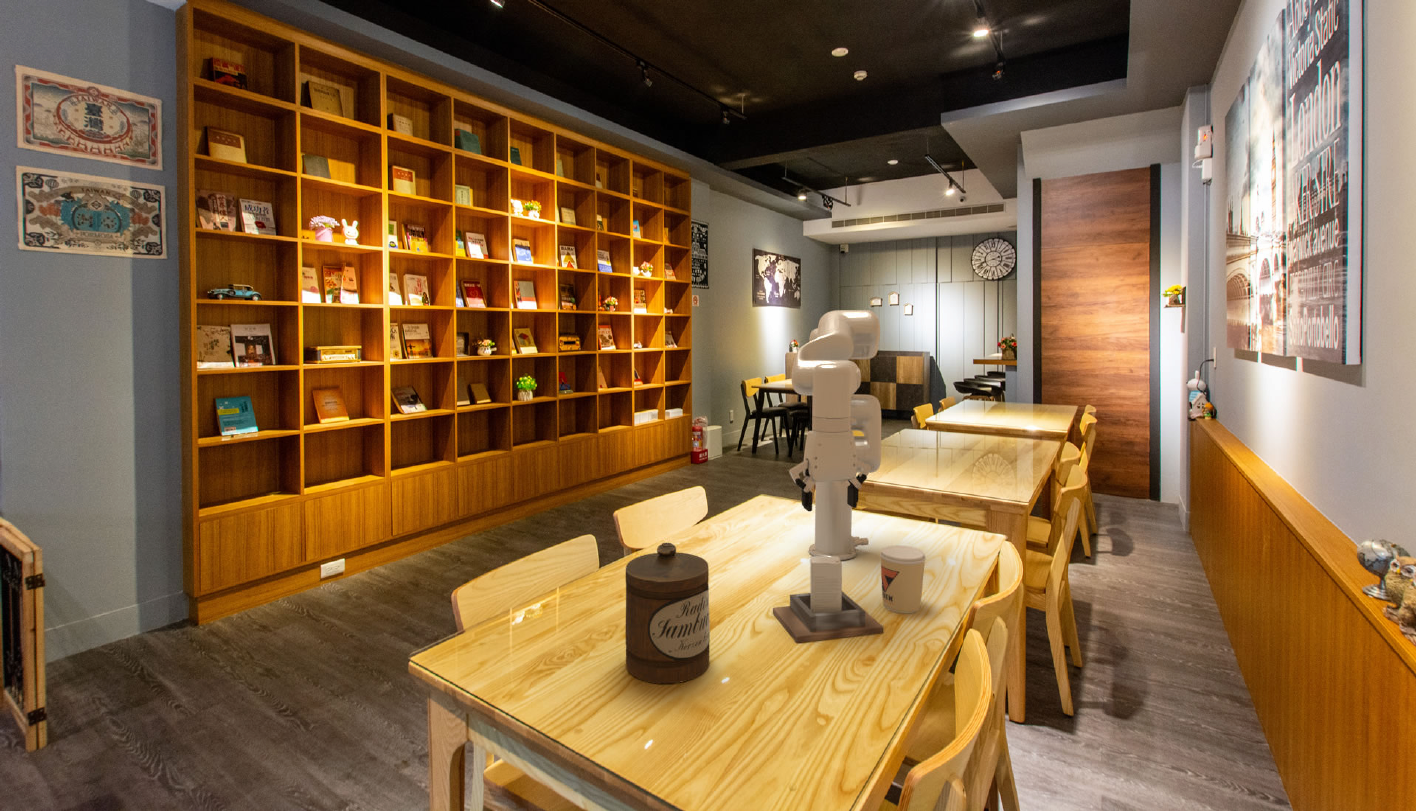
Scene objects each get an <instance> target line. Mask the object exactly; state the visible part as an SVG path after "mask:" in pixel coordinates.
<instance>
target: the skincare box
mask: <svg viewBox="0 0 1416 811" xmlns="http://www.w3.org/2000/svg"><path fill="white" fill-rule="evenodd" d="M809 561H810V567H809V569H810V572H809V573H810V579H809V580H810V581H809V582H810V583H809V584H810V593H811V606H810V609H811V611H812V612H813V613H814V614H818V613H828V612H837V611H842V591H843V588H842V586H843V585H842V584H843V582H842V581H843V578H842V577H843V575H842V574H843V572H842V570H843V563H842V560H840V558H839V557H818V556H813V555H811V556H810V560H809Z"/></svg>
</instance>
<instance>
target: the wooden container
mask: <svg viewBox="0 0 1416 811" xmlns="http://www.w3.org/2000/svg"><path fill="white" fill-rule="evenodd" d="M708 563H709V562H708V561H707V560H706V559H704V558H703V557H700V556H698V555H695V554H691V553H686V552H678V551H677V547H676V545H675V544H673V543H671V542H662V543H661V544H660V545H658V546H657V548H656V552H653V553H647V554H643V555H640V556H637V557H634V558H633V559H630V561H628V563H627V564H626V566H625V667H626V669H627V671H628V672H629V674H630V675H632V676H633V677H634V678H636V679H638V680H641V681H643V682H646V681H647V682H648V683H650V682H651V684H657V683H673V684H678V683H677V682H680V683H682V682H681V681H685V682H687V681H686V680H688V681H690V679H691V680H693V679H692V678H694V679H696V678H697V676H698V677H699V676H701V675H702V674H704V673H705V671H706V670H707V669H708V668H709V665H710V633H711V632H710V628H711V626H710V625H711V624H710V623H711V621H710V592H709V591H710V590H709V589H710V588H709V587H710V586H709V579H710V577H709V576H710V575H709V574H710V573H709V564H708ZM703 672H704V673H703ZM695 677H696V678H695ZM647 682H646V683H647Z"/></svg>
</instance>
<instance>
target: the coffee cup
mask: <svg viewBox="0 0 1416 811" xmlns="http://www.w3.org/2000/svg"><path fill="white" fill-rule="evenodd" d="M879 557H880V574H881V576H880V577H881V596H882V597H881V598H882V605H883V607H884V609H886V610H888V611H890V612H894V613H899V614H913V613H917V612H918V611H920V609H921V603H922V593H923V585H924V577H925V576H924V575H925V564H926V562H925V561H926V560H927V559H926V555H925V552H924V551H923V550H921V549H920V548H916V547H912V546H907V545H888V546H885V547H883V548H882V549H881V551H880V552H879Z"/></svg>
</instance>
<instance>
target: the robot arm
mask: <svg viewBox="0 0 1416 811" xmlns="http://www.w3.org/2000/svg"><path fill="white" fill-rule="evenodd" d="M880 337H881V324H880V321H879V318H878V316H877V314H876V313H875V312H874V311H872V310H868V309H856V310H855V309H854V310H853V309H851V310H850V309H849V310H848V309H847V310H846V309H845V310H843V309H841V310H840V309H837V310H831V311H828V312H826V313H824V314H823V315H822V316H821V317H820V319H819V322H818V326H817V328H814V329H813V330H811V332H810V334H809V342H807V343H804V345H802V346H801V347H800V348H798V350H797V351H796V353H795V355H794V359H793V363H792V364H793V365H792V367H791V368H792V370H791V385H792V388H793V390H794V392H795V393H797V394H799V395H801V396H812V410H811V411H812V418H811V419H812V420H811V421H812V422H811V423H812V424H811V426H812V427H811V428H812V430H808V432H807V435H806V439H805V446H804V455H803V461H801V462H799V464H796V465H795V466H793V467H792V468H790V469H789V470H788V472H789V475H790V476H791V480H792V481H793V483H795V485H796V486H798V487H799V489H800V490H801V506H802V507H803V510H806V511H807V512H812V511H813V492H812V491H811V490H812V488H813V487H814V486H815V491H814V492H815V496H814V497H815V498H814V499H815V504H814V506H815V507H814V512H815V513H814V514H815V515H814V543H812V544H811V545H810V546H809V547H808V552H809V554H810V555H811V556H818V557H839V558H840V560H841V561H845V560H846V561H847V560H850V559H851V560H852V559H853V558H855V557H856V556H857V555H858V549H857V547H858V546H868V545H869V542H870V541H869V539H868V538H867V537H861V538H860V536H853V535H852V527H853V526H852V523H853V522H852V518H853V516H852V515H853V514H852V513H853V509H857V507H858V503H859V492H860V491H859V489H861V487H862V485H863V483H864V482H866V480H867V478H868V475H869V474H871V473H873V474H874V473H875V472H877V471H878V470H879V469H880V467H881V462H882V409H881V404H880V401H879V399H878V398H877V397H876V396H874V395H871V394H855V393H856V392H857V390H858V389H859V388H860V386H861V383H862V378H861V377H862V372H861V369H860V368H859V367H858V365H857V363H855V362H854V361H851V360H870V359H873V358H874V357H875V356H876V355H877V353H878V350H879V346H880V345H879V344H880V343H879V342H880ZM853 431H854V432H860V433H862V434H863V435H855V434H854V432H853ZM801 473H803V476H804V479H801V477H800V474H801ZM857 473H858V474H857ZM852 508H853V509H852Z"/></svg>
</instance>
